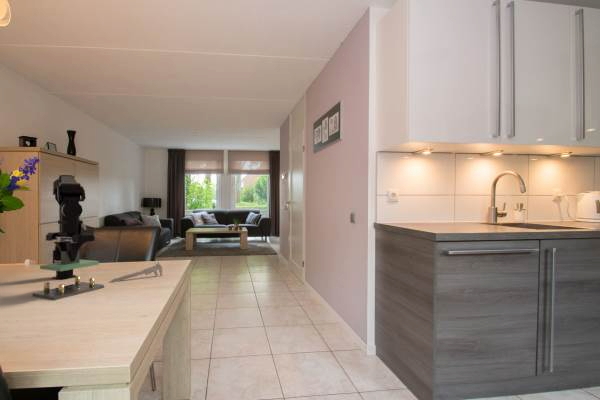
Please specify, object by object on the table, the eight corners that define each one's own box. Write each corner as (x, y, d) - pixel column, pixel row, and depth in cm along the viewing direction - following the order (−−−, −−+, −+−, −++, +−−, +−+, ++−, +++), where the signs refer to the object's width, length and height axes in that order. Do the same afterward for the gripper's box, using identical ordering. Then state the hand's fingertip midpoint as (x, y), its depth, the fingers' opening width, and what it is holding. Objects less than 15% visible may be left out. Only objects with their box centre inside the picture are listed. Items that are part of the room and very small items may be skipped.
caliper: (161, 276, 154) (161, 261, 154) (162, 276, 153) (162, 262, 153) (109, 282, 142) (109, 267, 142) (109, 283, 141) (109, 267, 141)
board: (40, 268, 123) (40, 252, 123) (79, 262, 136) (79, 247, 136) (60, 271, 118) (60, 254, 118) (98, 264, 131) (98, 249, 131)
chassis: (32, 296, 121) (32, 284, 121) (82, 284, 137) (82, 274, 137) (54, 300, 116) (54, 287, 116) (104, 287, 133) (104, 277, 133)
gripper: (108, 217, 131) (108, 259, 131) (75, 216, 138) (75, 256, 138) (79, 218, 120) (79, 264, 120) (45, 217, 128) (45, 260, 128)
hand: (70, 260), depth 127 cm, fingers closed on board, 3 cm apart
